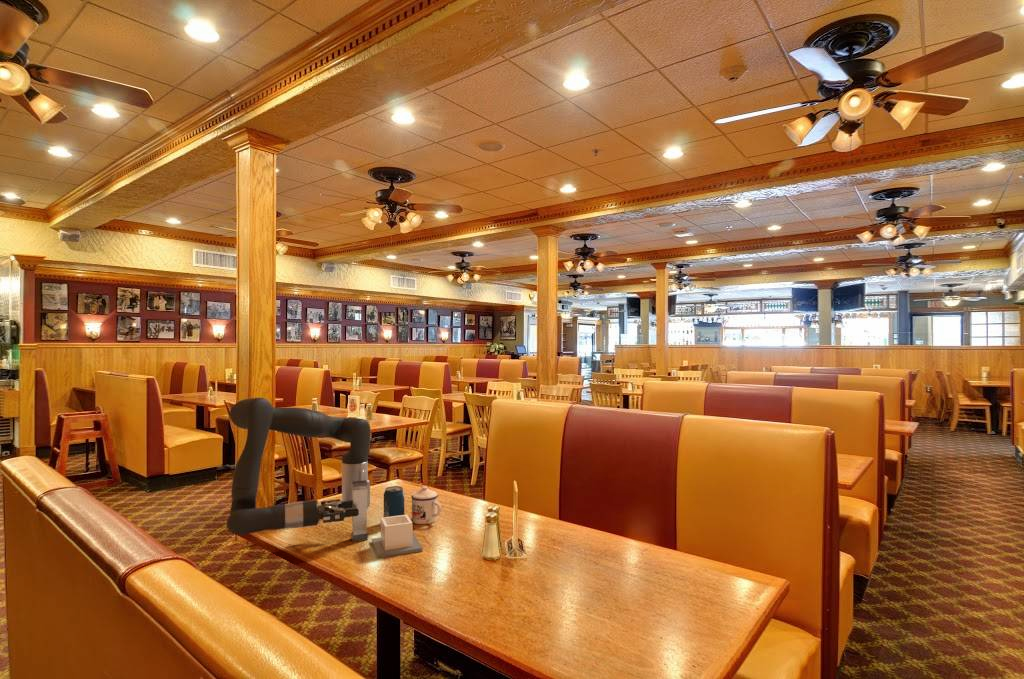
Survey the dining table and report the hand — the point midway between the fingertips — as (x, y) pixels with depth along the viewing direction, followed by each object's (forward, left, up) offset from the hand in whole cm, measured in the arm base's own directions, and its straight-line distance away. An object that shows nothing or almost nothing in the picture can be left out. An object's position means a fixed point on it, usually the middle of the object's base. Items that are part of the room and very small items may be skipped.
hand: (356, 507), depth 171 cm
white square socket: (-3, +15, -10) cm, 18 cm away
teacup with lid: (-25, +8, -10) cm, 28 cm away
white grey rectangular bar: (-1, +1, -10) cm, 10 cm away
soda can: (-17, 0, -10) cm, 20 cm away
